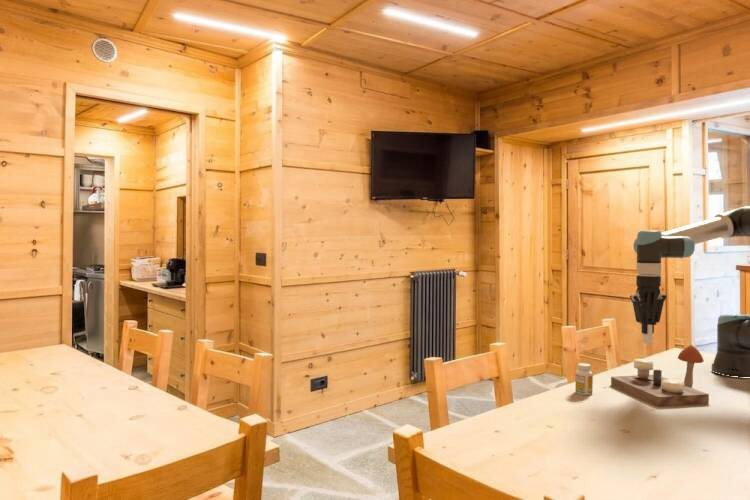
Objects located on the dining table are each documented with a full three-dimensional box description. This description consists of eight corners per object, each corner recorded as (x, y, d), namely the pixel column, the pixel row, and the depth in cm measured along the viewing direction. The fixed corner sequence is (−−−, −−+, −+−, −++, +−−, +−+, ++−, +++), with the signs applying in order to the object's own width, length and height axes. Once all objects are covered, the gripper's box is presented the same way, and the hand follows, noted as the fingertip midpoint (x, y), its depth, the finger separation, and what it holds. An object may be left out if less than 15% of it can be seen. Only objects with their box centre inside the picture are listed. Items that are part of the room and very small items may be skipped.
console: (655, 382, 193) (656, 374, 193) (708, 403, 169) (708, 394, 169) (611, 385, 189) (611, 376, 189) (658, 406, 166) (658, 397, 166)
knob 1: (645, 373, 189) (645, 358, 189) (656, 378, 184) (657, 362, 183) (630, 374, 188) (630, 359, 188) (641, 379, 182) (641, 363, 182)
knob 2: (673, 395, 176) (673, 379, 176) (687, 401, 170) (687, 384, 170) (657, 396, 175) (657, 380, 175) (670, 402, 169) (671, 385, 169)
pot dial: (657, 383, 181) (658, 368, 180) (662, 385, 178) (663, 370, 178) (651, 384, 180) (651, 368, 180) (656, 386, 178) (656, 370, 178)
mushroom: (708, 390, 183) (709, 347, 183) (684, 390, 183) (685, 347, 183) (694, 384, 191) (695, 342, 191) (672, 383, 191) (673, 342, 191)
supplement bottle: (589, 390, 182) (590, 362, 182) (594, 395, 177) (595, 366, 177) (573, 390, 183) (573, 362, 182) (577, 395, 177) (578, 366, 177)
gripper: (657, 274, 188) (656, 340, 189) (624, 274, 186) (623, 341, 186) (673, 275, 181) (671, 344, 182) (639, 276, 178) (638, 346, 179)
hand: (647, 343), depth 184 cm, fingers closed
